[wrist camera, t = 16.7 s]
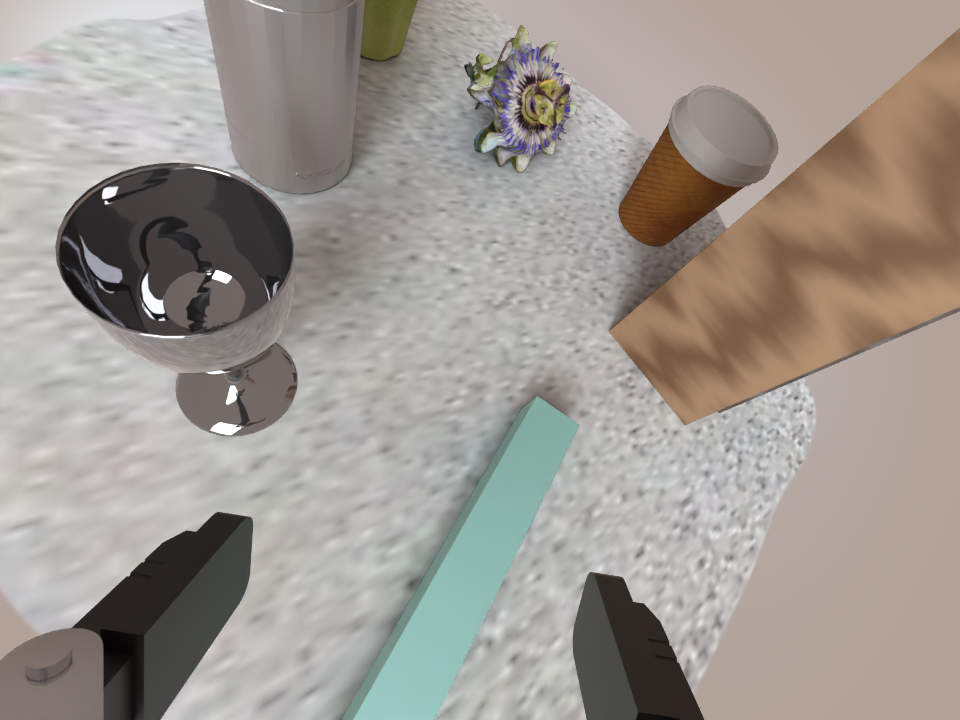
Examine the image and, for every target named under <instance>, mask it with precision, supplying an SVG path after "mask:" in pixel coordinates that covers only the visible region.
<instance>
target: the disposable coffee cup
mask: <svg viewBox="0 0 960 720" xmlns="http://www.w3.org/2000/svg"><path fill="white" fill-rule="evenodd" d="M777 154H778V142H777V138H776V135H775V133H774V131H773V129H772V128H771V125H770V124H769V123H768V121H767V120H766V118H765V117H764V116H763V115H762V114H761V113H760V112H759V111H758V110H757V109H756V108H755V107H754V106H753V105H752V104H751V103H749V102H748V101H746V100H745V99H743V98H742V97H740V96H739V95H737V94H735V93H733V92H731V91H729V90H726V89H723V88H720V87H716V86H701V87H698V88H696V89H694V90H693V91H692V92H690V93H689V94H688V95H687V96H684V97H682V98H680V99H679V100H678V101H677V102H676V103H675V105H674V106H673V108H672V112H671V116H670V119H669V123H668V125H667V127H666V128H665V130H664V131H663V133H662V135H661V136H660V138H659V140H658V142H657V143H656V145H655V147H654V148H653V150H652V151H651V154H650V155H649V157H648V159H647V160H646V162H645V164H644V165H643V167H642V169H641V170H640V172H639V174H638V175H637V177H636V179H635V181H634V182H633V184H632V186H631V187H630V189H629V191H628V193H627V194H626V196H625V198H624V199H623V201H622V202H621V204H620V207H619V216H620V219H621V222H622V224H623V226H624V227H625V229H626V230H627V231H628V232H629V233H630V234H631V235H632V236H633V237H634V238H635V239H637V240H638V241H640V242H642V243H644V244H647V245H650V246H663V245H666V244H667V243H669V242H670V241H671V240H673V239H674V238H675V237H677V236H678V235H679V234H681V233H682V232H684V231H685V230H686V229H688V228H689V227H690V226H692V225H693V224H694V223H696V222H697V221H699V220H700V219H701V218H703V217H704V216H705V215H707V214H708V213H709V212H711V211H712V210H714V209H715V208H716V207H718V206H719V205H720V204H722V203H723V202H724V201H726V200H727V199H729V198H730V197H731V196H732V195H734V194H735V193H736V192H738V191H739V190H741V189H742V188H743V187H745V186H748V185H751V184H752V183H756V182H758V181H760V180H761V179H763V178H764V177H765V176H766V175H767V174H768V172H769V170H770V167H771V164H772V163H773V161H774V160H775V158H776V156H777Z"/></svg>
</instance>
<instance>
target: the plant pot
mask: <svg viewBox="0 0 960 720" xmlns="http://www.w3.org/2000/svg"><path fill="white" fill-rule="evenodd" d="M416 3H417V0H365V4H364V17H363V29H362V42H361V54H360V55H361V56H363V57H366V58H369V59H374V60H387V59H388V58H390V57H392V56H395V55H396V56H397V55H399V53H400V52H401V50H402V47H403V44H404V41H405V38H406V34H407V31H408V28H409V25H410V22H411V19H412V16H413V13H414V10H415V7H416Z"/></svg>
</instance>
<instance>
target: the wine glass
mask: <svg viewBox="0 0 960 720" xmlns="http://www.w3.org/2000/svg"><path fill="white" fill-rule="evenodd" d="M56 260H57V265H58V268H59V271H60V274H61V277H62V279H63V280H64V282H65V284H66V285H67V287H68V288H69V290H70V291H71V293H72V295H73V296H74V298H75V299H76V300H77V301H78V303H79V304H80V305H81V306H82V307H83V309H84V310H85V311H86V312H87V313H88V314H89V315H90V316H91V317H92V318H93V319H94V320H95V321H96V322H97V323H98V324H99V325H100V326H101V327H102V328H103V329H104V330H105V331H106V332H107V333H108V334H109V335H110V336H111V337H112V338H113V339H114V340H116V341H117V342H119V343H120V344H122V345H123V346H124V347H126V348H127V349H129V350H130V351H132V352H133V353H135V354H136V355H138V356H139V357H141V358H143V359H145V360H147V361H149V362H151V363H154V364H156V365H158V366H160V367H163V368H165V369H167V370H171V371H175V372H179V373H178V376H177V380H176V397H177V401H178V404H179V406H180V409H181V410H182V412H183V413H184V415H185V416H186V417H187V418H188V419H189V420H190V421H191V422H192V423H193V424H194V425H196V426H197V427H199V428H200V429H202V430H205V431H207V432H209V433H213V434H217V435H221V436H243V435H248V434H252V433H255V432H258V431H260V430H263V429H265V428H267V427H268V426H270V425H272V424H273V423H274V422H276V421H277V420H278V419H279V418H281V417H282V415H283V414H284V413H285V412H286V411H287V410H288V408H289V406H290V405H291V403H292V401H293V399H294V396H295V393H296V388H297V374H296V370H295V366H294V364H293V362H292V360H291V358H290V357H289V356H288V354H287V353H286V352H285V351H284V350H283V349H282V348H281V347H280V346H279V345H277V344H276V343H275V341H276V340H277V338H278V337H279V335H280V334H281V332H282V330H283V328H284V325H285V323H286V321H287V318H288V316H289V314H290V309H291V305H292V301H293V295H294V290H295V254H294V244H293V239H292V235H291V231H290V227H289V225H288V223H287V221H286V218H285V216H284V214H283V213H282V211H281V210H280V209H279V207H278V206H277V205H276V203H275V202H274V201H273V200H272V199H271V198H270V197H269V196H268V195H267V194H266V193H264V192H263V191H262V190H261V189H259V188H258V187H256V186H255V185H253V184H252V183H250V182H249V181H247V180H245V179H243V178H241V177H239V176H237V175H235V174H232V173H229V172H226V171H223V170H221V169H218V168H213V167H209V166H204V165H199V164H188V163H160V164H153V165H147V166H140V167H137V168H133V169H130V170H126V171H123V172H120V173H118V174H116V175H114V176H111V177H109V178H107V179H105V180H103V181H101V182H100V183H98V184H97V185H95V186H93V187H92V188H90V189H89V190H88V191H87V192H85V193H84V194H83V195H82V196H81V197H80V198H79V199H78V200H77V201H76V202H75V203H74V204H73V206H72V207H71V208H70V209H69V211H68V212H67V213H66V215H65V217H64V219H63V221H62V223H61V226H60V228H59V230H58V235H57V241H56Z"/></svg>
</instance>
